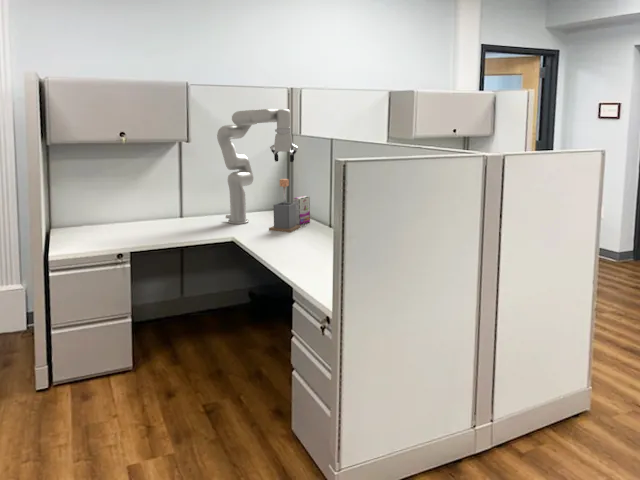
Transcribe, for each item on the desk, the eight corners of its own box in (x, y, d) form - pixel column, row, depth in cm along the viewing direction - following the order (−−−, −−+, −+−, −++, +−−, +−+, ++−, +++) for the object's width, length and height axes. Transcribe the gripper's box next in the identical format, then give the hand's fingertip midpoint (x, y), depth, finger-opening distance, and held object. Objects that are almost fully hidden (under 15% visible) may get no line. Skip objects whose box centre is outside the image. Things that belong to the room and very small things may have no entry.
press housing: (269, 230, 350) (268, 205, 347) (279, 226, 363) (279, 201, 359) (290, 232, 345) (290, 206, 341) (300, 227, 357) (300, 202, 354)
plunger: (276, 212, 349) (275, 179, 345) (281, 210, 356) (281, 178, 352) (287, 213, 347) (287, 180, 342) (293, 211, 353) (292, 178, 349)
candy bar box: (303, 221, 377) (303, 195, 373) (310, 222, 374) (310, 196, 371) (293, 224, 368) (292, 197, 364) (299, 225, 365) (299, 198, 362)
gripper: (267, 131, 341) (267, 161, 345) (294, 131, 335) (295, 162, 338) (272, 131, 348) (273, 160, 351) (300, 131, 341) (300, 161, 345)
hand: (284, 161), depth 345 cm, fingers open, 9 cm apart
